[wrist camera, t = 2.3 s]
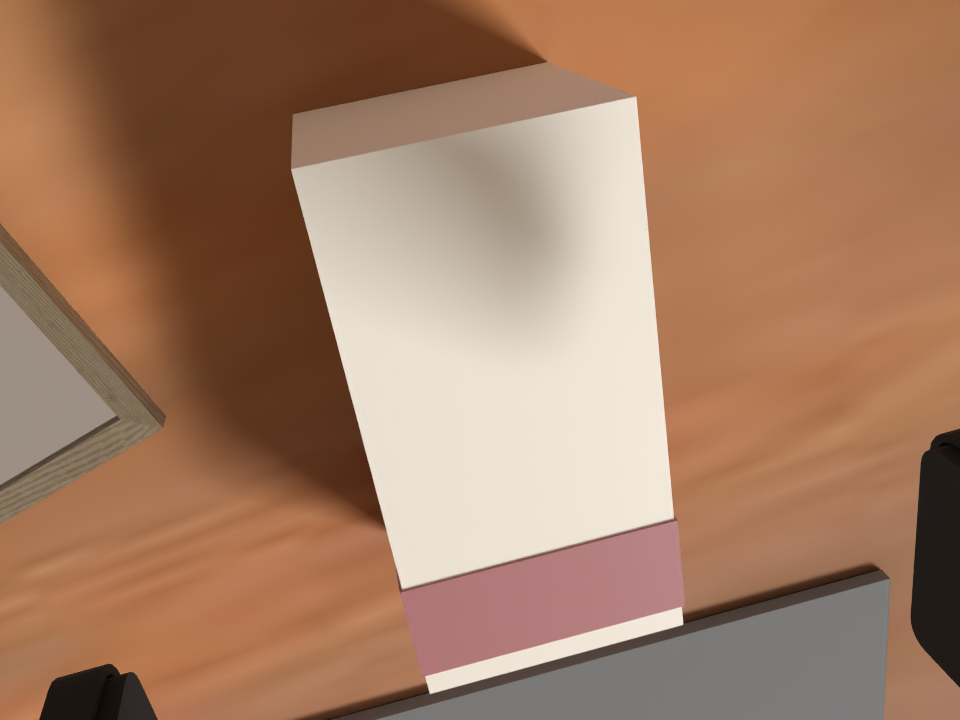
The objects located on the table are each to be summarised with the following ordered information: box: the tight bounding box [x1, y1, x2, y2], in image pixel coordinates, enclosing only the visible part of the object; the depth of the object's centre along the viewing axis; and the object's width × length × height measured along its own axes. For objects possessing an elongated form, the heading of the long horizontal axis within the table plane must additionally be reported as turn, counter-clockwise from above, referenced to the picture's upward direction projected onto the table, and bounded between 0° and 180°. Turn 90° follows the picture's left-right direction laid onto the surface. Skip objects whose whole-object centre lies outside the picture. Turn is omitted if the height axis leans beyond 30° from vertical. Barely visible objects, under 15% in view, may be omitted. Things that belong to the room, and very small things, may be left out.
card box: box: [291, 62, 685, 694], centre depth 17 cm, size 10×5×5 cm, turn 10°
